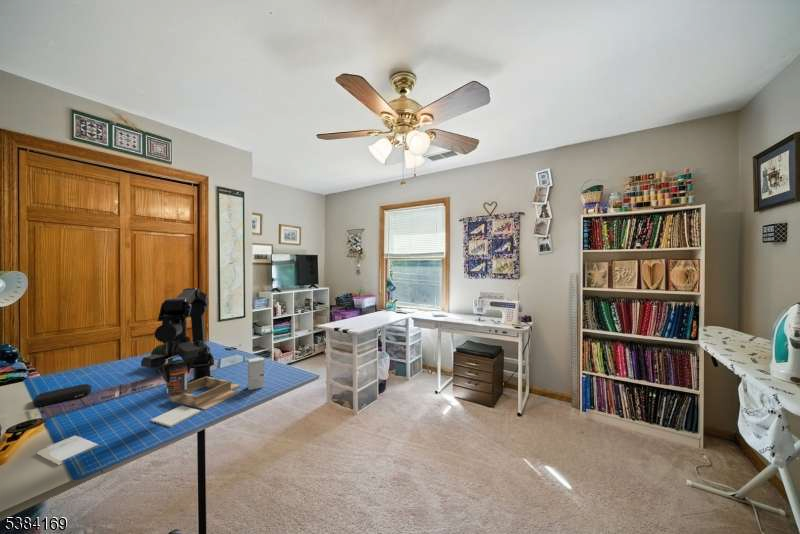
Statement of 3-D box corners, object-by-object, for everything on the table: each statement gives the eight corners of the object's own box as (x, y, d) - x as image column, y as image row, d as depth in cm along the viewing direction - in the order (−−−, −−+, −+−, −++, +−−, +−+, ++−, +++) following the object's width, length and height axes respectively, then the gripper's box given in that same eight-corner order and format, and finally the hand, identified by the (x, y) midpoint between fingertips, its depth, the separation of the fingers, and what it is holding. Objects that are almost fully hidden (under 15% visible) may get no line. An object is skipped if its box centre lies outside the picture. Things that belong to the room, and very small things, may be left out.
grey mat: (150, 421, 99) (150, 419, 99) (181, 407, 109) (181, 405, 109) (170, 427, 96) (170, 425, 96) (200, 412, 105) (200, 410, 105)
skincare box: (248, 390, 123) (248, 362, 122) (247, 386, 126) (247, 359, 126) (264, 387, 126) (264, 359, 126) (262, 383, 130) (262, 356, 129)
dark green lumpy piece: (179, 376, 140) (172, 358, 158) (179, 338, 138) (172, 324, 156) (154, 382, 134) (149, 362, 152) (153, 342, 132) (149, 327, 150)
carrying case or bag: (32, 410, 106) (91, 396, 117) (32, 402, 106) (91, 389, 117) (35, 401, 113) (90, 388, 124) (35, 393, 113) (90, 381, 124)
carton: (169, 400, 114) (169, 390, 113) (216, 380, 132) (216, 372, 132) (205, 410, 107) (205, 399, 107) (249, 387, 125) (249, 378, 125)
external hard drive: (58, 468, 78) (36, 456, 82) (99, 449, 86) (76, 439, 90) (58, 462, 78) (35, 450, 82) (99, 443, 86) (76, 434, 90)
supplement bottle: (164, 398, 99) (163, 365, 98) (168, 391, 104) (168, 359, 103) (186, 394, 101) (185, 362, 101) (189, 387, 107) (188, 357, 106)
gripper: (162, 344, 91) (163, 394, 91) (218, 330, 108) (218, 372, 108) (139, 340, 94) (140, 388, 95) (196, 328, 112) (197, 368, 112)
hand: (177, 378), depth 102 cm, fingers closed on supplement bottle, 6 cm apart
